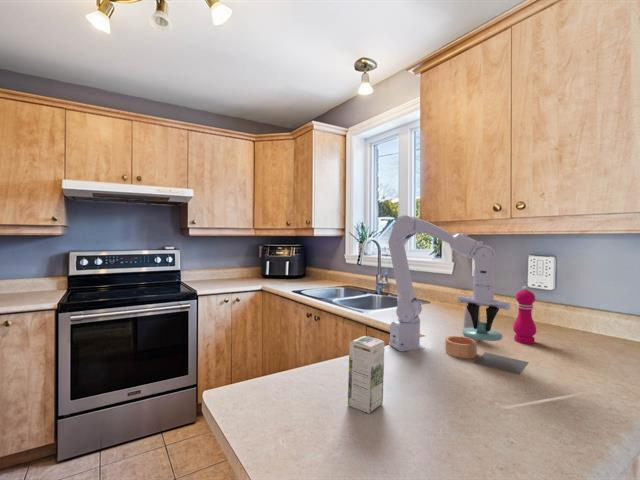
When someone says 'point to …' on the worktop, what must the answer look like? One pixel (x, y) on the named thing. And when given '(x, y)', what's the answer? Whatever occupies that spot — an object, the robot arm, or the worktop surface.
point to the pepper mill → (524, 317)
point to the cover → (482, 333)
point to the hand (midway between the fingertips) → (482, 329)
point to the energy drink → (469, 321)
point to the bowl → (460, 347)
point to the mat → (501, 363)
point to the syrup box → (366, 373)
